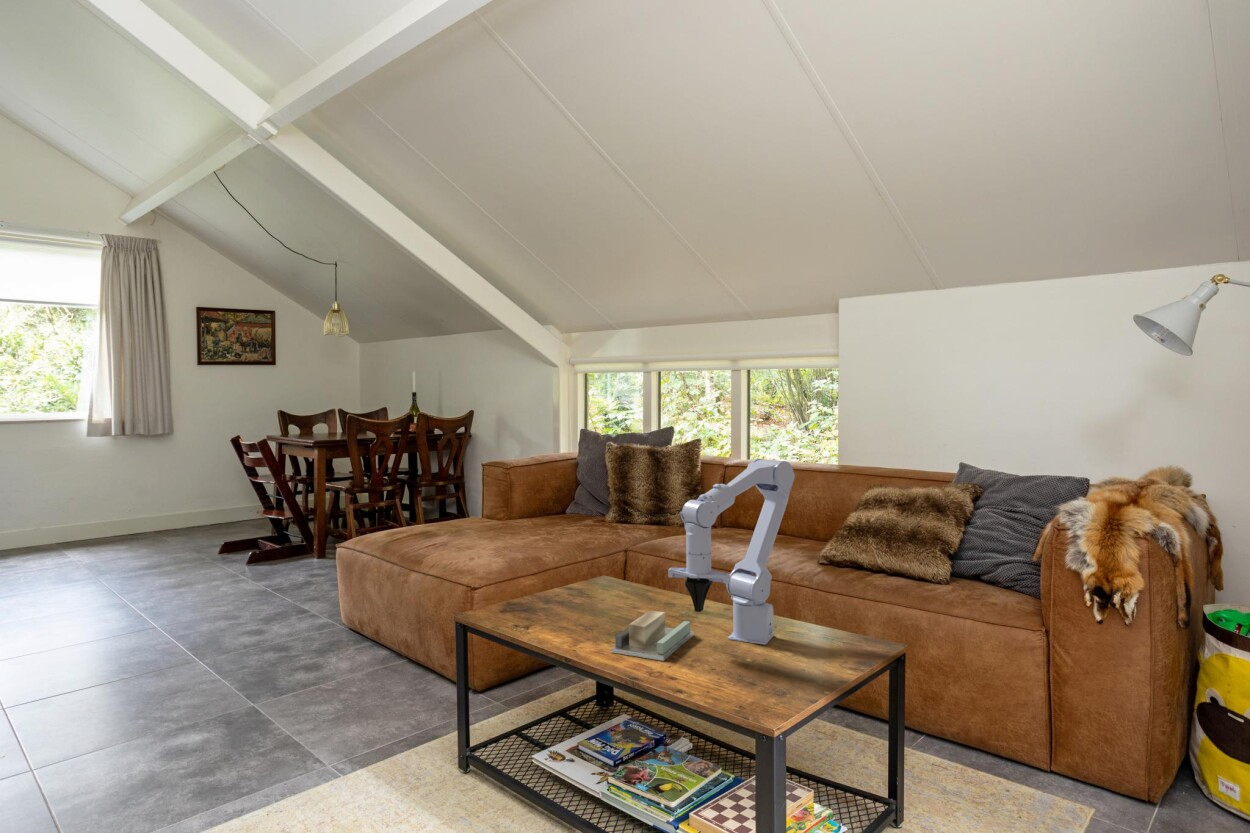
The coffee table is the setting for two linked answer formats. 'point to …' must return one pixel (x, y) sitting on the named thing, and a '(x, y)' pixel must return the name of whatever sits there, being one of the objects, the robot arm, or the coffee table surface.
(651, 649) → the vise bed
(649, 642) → the wood bar
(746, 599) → the robot arm
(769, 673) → the coffee table surface
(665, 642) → the bar
